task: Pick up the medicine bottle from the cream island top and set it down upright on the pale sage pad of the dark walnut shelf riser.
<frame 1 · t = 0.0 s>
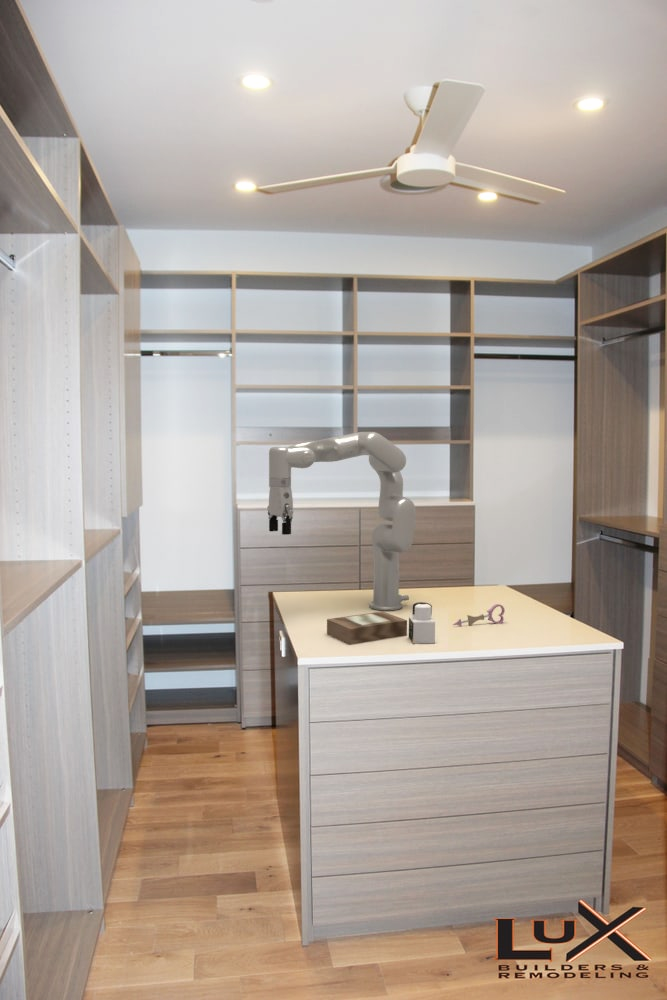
hand: (279, 532, 255), 31 cm above the countertop, fingers open, 9 cm apart
medicine bottle: (421, 641, 236), on the countertop
shelf riser: (366, 634, 242), on the countertop
decorative key: (478, 625, 256), on the countertop
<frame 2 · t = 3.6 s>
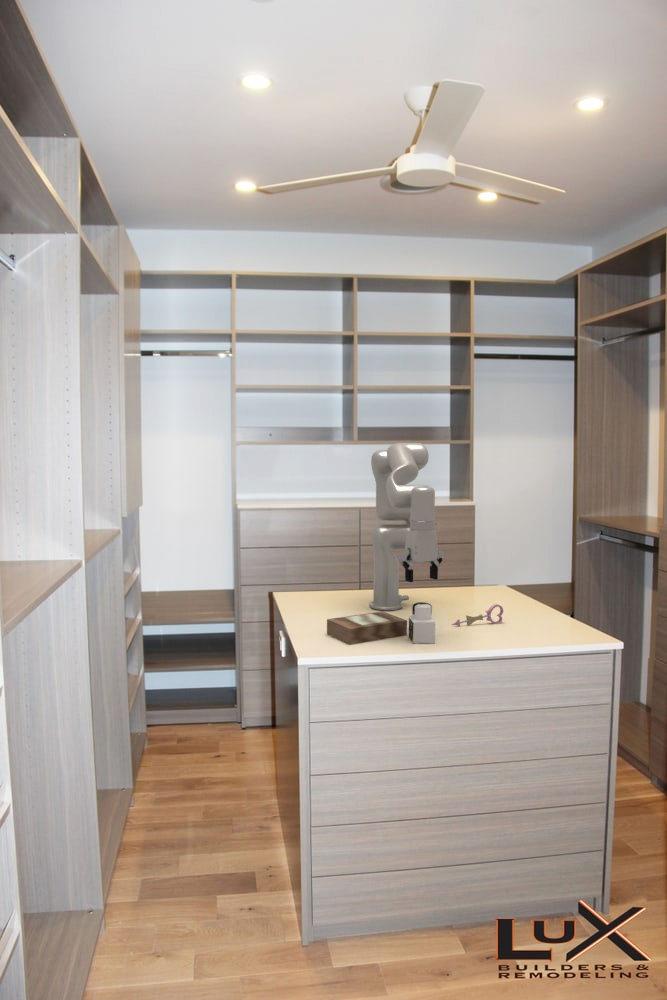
hand: (421, 580, 234), 19 cm above the countertop, fingers open, 9 cm apart
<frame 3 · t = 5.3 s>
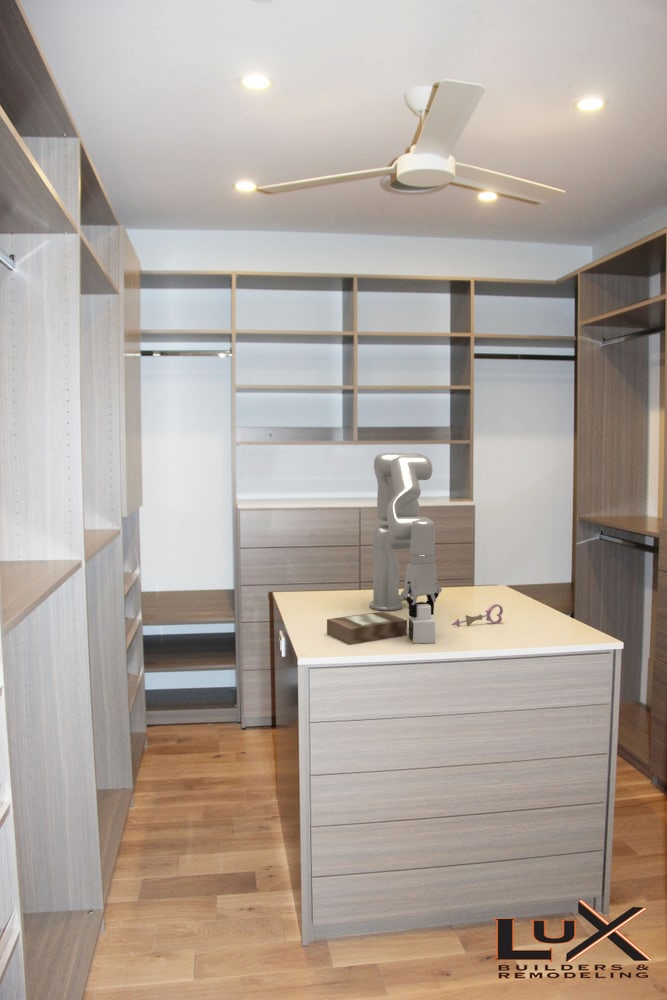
hand: (421, 614, 235), 8 cm above the countertop, fingers closed on medicine bottle, 6 cm apart
medicine bottle: (421, 641, 236), on the countertop, touching gripper
everything else where it was.
when the fingers open (14 cm above the countertop, at t = 11.3 s): medicine bottle moves 1 cm, resting on shelf riser.
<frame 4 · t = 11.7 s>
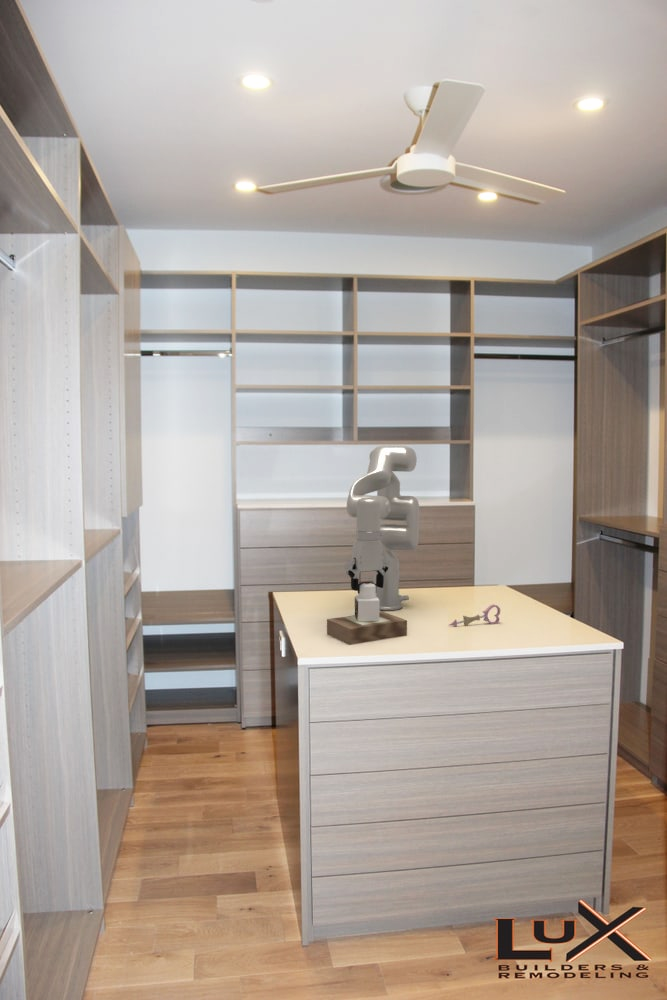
hand: (367, 588, 241), 15 cm above the countertop, fingers open, 9 cm apart
medicine bottle: (366, 619, 241), point 5 cm above the countertop, touching shelf riser
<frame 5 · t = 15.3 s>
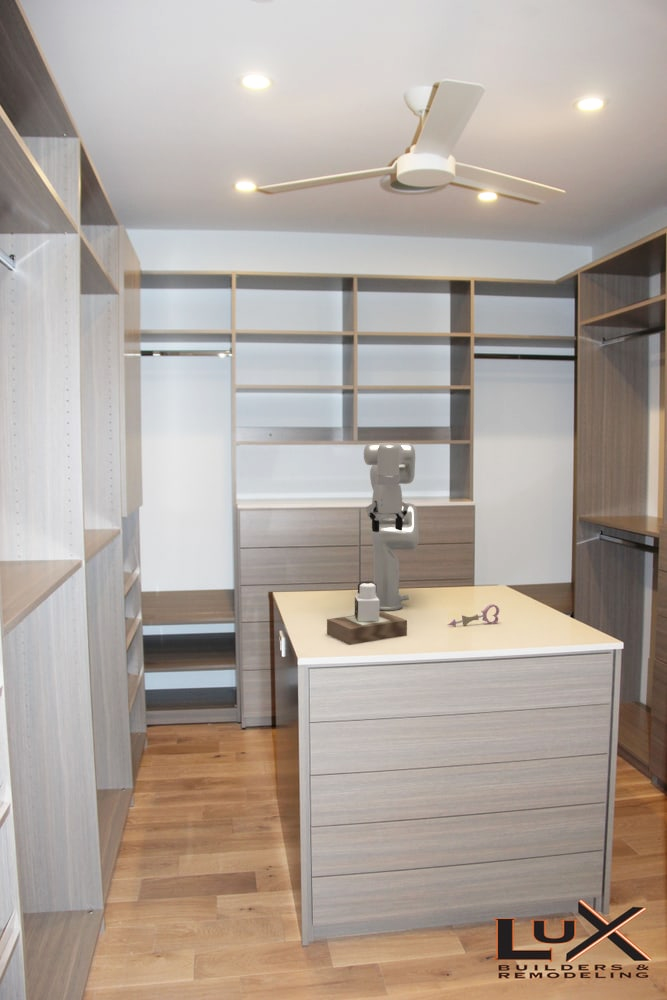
hand: (387, 530, 254), 32 cm above the countertop, fingers open, 9 cm apart
at the end: medicine bottle inside the target area on the shelf riser (0.1 cm from its centre), point 5.0 cm above the shelf riser's base; medicine bottle tilted 0°; the gripper is holding nothing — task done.
